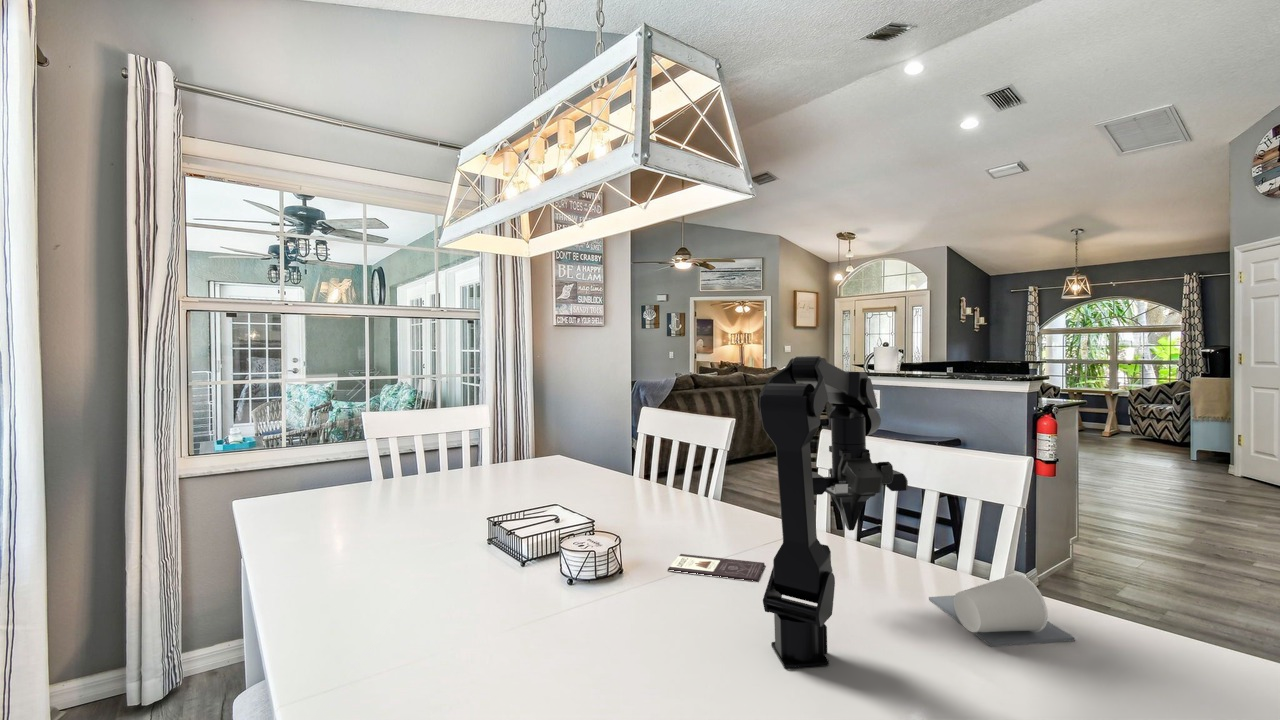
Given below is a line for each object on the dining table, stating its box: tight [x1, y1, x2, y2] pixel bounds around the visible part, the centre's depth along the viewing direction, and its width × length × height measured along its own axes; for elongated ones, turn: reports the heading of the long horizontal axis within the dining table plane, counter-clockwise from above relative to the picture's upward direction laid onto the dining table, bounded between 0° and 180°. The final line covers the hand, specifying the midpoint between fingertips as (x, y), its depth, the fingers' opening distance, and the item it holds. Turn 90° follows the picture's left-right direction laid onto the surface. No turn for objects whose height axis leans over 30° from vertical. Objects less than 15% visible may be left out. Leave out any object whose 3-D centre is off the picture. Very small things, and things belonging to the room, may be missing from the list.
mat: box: [928, 594, 1076, 647], centre depth 93 cm, size 13×16×1 cm
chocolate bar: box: [667, 553, 765, 582], centre depth 118 cm, size 9×1×18 cm
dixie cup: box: [954, 572, 1049, 633], centre depth 88 cm, size 8×8×10 cm
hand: (850, 529), depth 102 cm, fingers closed
